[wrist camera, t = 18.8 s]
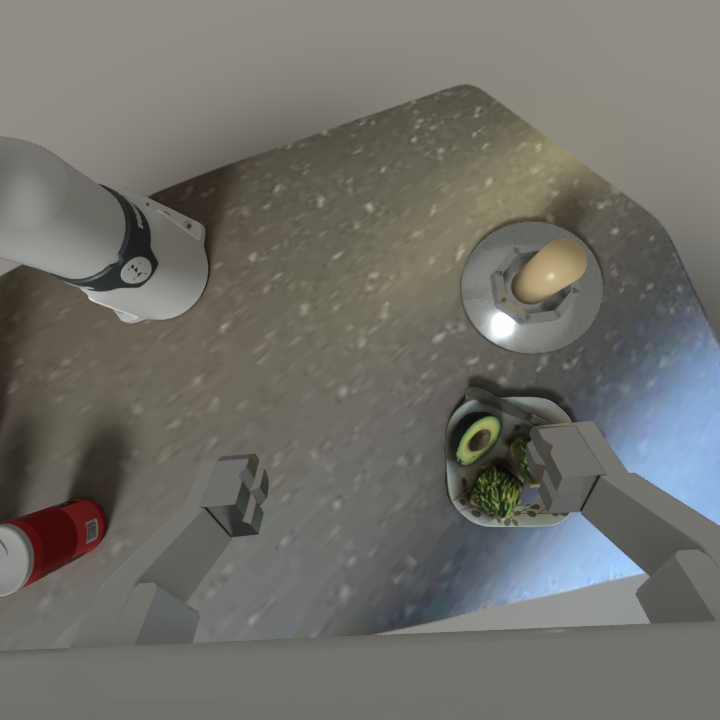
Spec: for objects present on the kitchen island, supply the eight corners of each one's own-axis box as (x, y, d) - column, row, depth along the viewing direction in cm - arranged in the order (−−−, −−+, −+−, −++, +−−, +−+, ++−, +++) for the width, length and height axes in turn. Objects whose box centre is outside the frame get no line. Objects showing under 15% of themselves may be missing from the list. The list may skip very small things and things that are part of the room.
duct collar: (433, 301, 48) (436, 295, 45) (513, 200, 48) (521, 187, 45) (543, 381, 46) (553, 380, 43) (627, 275, 46) (643, 267, 43)
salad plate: (592, 386, 45) (614, 386, 41) (600, 527, 44) (624, 543, 39) (442, 386, 47) (447, 385, 43) (444, 520, 46) (450, 535, 41)
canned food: (85, 485, 51) (0, 511, 40) (118, 525, 50) (41, 563, 39) (50, 523, 51) (-44, 558, 40) (83, 563, 50) (-4, 612, 39)
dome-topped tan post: (503, 289, 46) (528, 265, 37) (526, 260, 46) (557, 229, 37) (534, 312, 45) (568, 292, 37) (558, 282, 45) (597, 256, 37)
